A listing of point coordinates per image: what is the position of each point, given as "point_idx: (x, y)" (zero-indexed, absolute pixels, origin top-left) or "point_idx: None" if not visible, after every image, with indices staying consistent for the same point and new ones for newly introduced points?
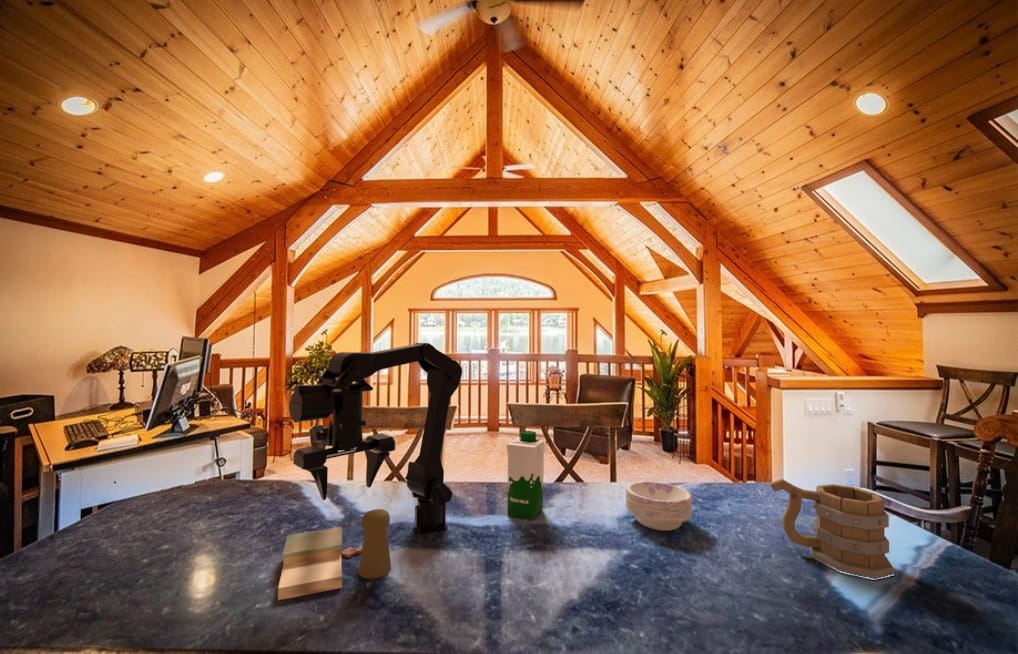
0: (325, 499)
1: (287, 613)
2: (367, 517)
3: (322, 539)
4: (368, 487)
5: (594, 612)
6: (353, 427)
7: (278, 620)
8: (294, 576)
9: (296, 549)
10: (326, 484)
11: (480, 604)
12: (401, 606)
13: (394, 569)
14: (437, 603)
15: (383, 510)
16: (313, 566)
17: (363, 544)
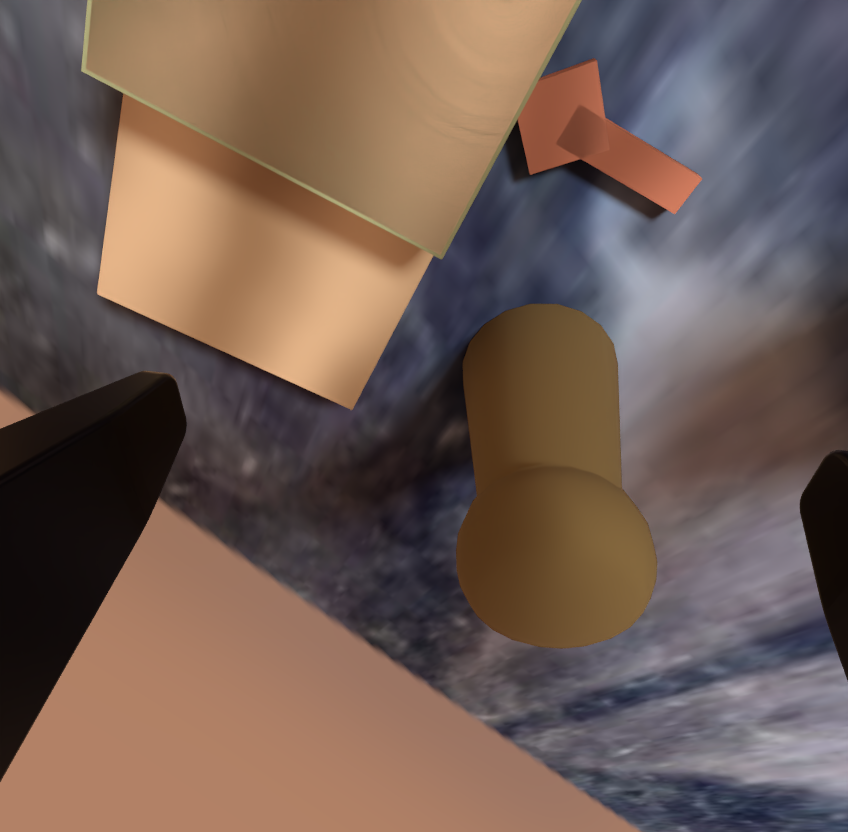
0: (179, 436)
1: None
2: (474, 602)
3: (376, 59)
4: (803, 494)
5: (709, 803)
6: None
7: None
8: (172, 252)
9: (171, 74)
10: (46, 679)
11: (596, 683)
12: (453, 575)
13: None
14: None
15: (615, 621)
16: (275, 233)
17: (475, 448)
